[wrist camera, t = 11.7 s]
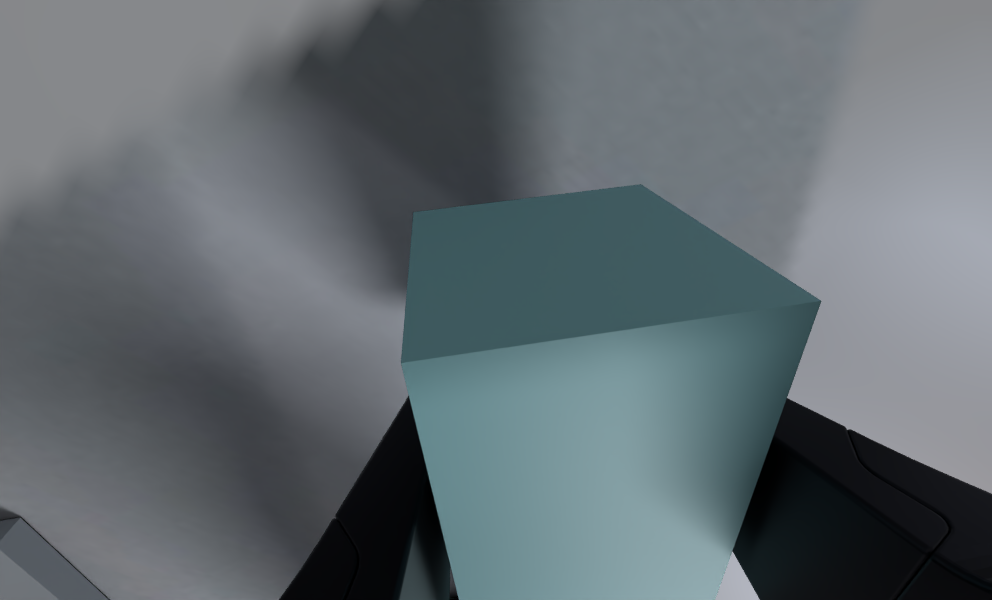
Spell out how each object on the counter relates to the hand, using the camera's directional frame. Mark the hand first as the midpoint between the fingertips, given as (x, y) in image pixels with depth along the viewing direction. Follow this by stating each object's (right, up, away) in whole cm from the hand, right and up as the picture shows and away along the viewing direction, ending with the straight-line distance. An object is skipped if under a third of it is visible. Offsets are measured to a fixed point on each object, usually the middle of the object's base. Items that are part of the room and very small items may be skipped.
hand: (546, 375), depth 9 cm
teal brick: (0, 0, +1) cm, 1 cm away
